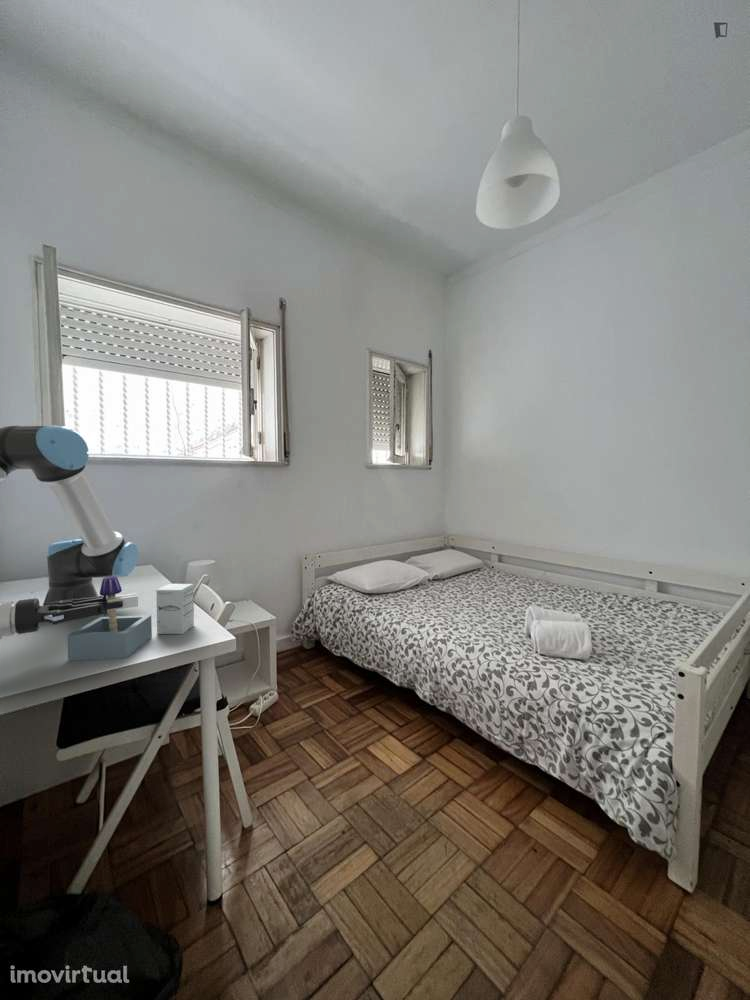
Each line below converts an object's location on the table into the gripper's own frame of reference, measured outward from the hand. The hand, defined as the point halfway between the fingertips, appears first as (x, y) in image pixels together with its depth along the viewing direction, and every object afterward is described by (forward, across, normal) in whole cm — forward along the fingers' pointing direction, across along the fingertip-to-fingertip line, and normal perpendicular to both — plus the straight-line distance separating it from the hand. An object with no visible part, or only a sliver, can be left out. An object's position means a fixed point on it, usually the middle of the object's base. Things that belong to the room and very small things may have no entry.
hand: (137, 599), depth 101 cm
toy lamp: (-6, 0, -10) cm, 12 cm away
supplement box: (+10, -4, -12) cm, 16 cm away
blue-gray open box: (-6, 0, -12) cm, 13 cm away
